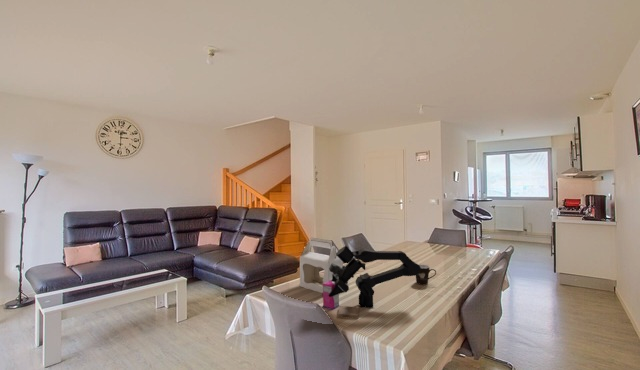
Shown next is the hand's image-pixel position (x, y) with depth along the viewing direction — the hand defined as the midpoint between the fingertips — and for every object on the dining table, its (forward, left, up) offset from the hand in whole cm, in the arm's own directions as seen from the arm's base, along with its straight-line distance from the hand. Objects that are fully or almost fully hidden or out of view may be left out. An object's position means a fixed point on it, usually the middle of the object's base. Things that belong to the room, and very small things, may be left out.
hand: (328, 292), depth 145 cm
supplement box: (-1, 0, -7) cm, 7 cm away
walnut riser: (-10, +7, -7) cm, 14 cm away
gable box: (+8, -26, -7) cm, 28 cm away
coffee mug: (-52, -42, -7) cm, 68 cm away
